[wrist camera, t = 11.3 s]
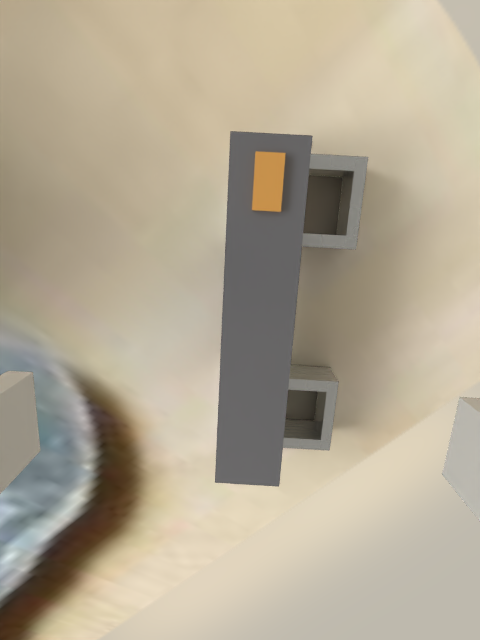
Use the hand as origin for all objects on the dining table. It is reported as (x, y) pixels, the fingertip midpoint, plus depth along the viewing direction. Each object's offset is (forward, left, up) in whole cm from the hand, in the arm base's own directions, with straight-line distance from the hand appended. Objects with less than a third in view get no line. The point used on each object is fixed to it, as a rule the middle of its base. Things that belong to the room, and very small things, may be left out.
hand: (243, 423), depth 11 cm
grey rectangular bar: (+1, 0, -19) cm, 19 cm away
